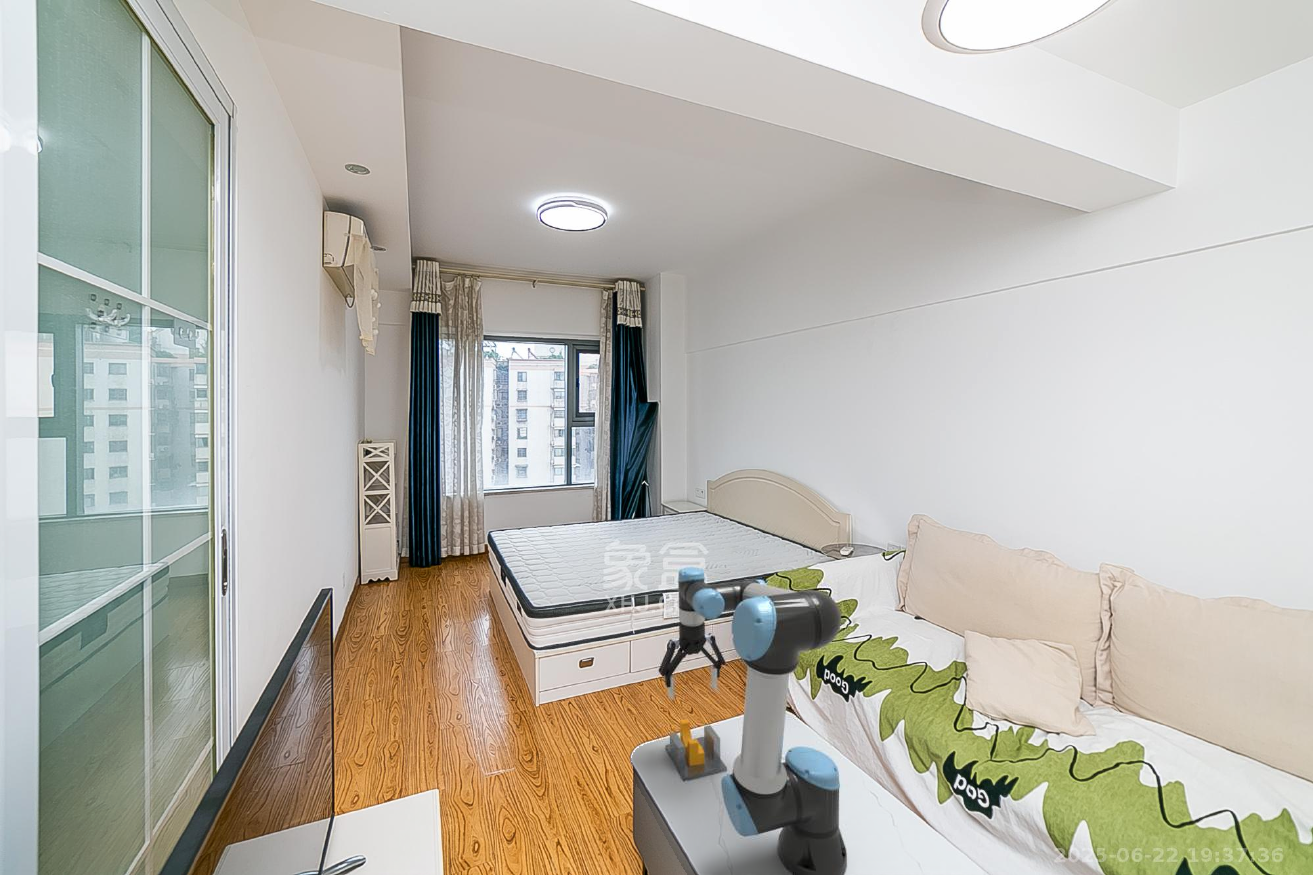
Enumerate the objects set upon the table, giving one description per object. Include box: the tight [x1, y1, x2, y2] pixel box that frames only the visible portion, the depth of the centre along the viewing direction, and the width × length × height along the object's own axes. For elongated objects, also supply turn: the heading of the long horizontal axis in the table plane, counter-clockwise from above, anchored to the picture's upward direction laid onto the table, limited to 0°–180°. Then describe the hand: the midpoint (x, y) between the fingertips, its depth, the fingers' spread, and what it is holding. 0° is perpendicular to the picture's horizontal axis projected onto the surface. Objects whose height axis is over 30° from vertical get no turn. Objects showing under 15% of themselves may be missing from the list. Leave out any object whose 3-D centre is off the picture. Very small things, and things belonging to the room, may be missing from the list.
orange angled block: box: [679, 718, 705, 766], centre depth 162 cm, size 12×4×6 cm, turn 10°
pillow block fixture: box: [664, 724, 728, 782], centre depth 160 cm, size 16×13×7 cm
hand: (692, 693), depth 160 cm, fingers open, 13 cm apart
